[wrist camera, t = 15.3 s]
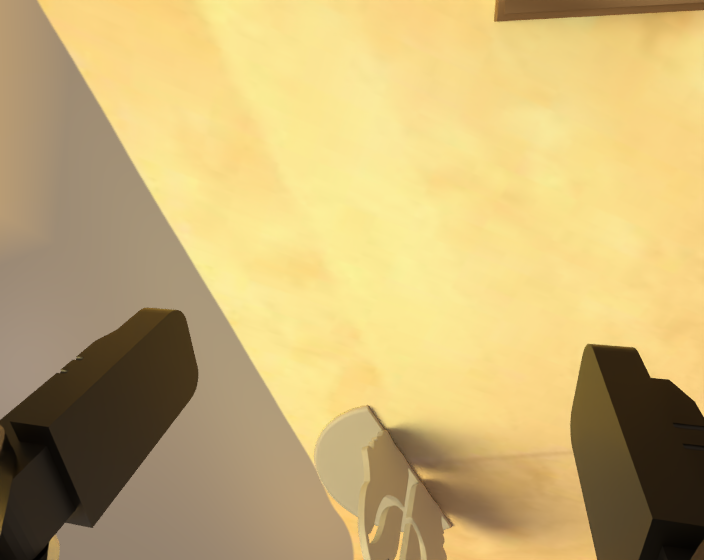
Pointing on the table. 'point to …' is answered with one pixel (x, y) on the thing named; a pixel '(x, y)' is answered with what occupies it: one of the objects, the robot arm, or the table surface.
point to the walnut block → (586, 8)
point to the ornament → (379, 489)
